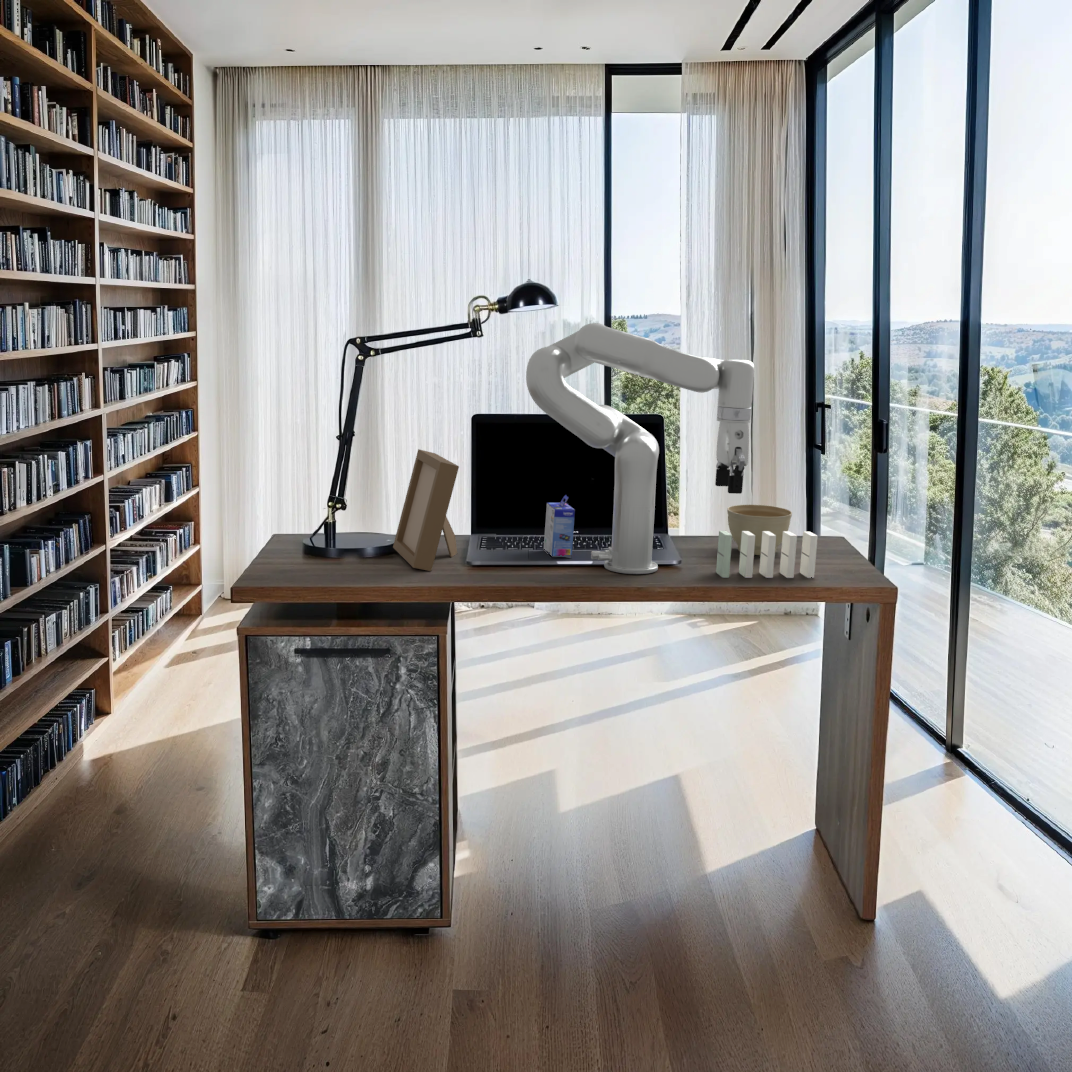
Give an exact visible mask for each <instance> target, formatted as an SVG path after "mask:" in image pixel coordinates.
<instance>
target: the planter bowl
mask: <svg viewBox="0 0 1072 1072" xmlns="http://www.w3.org/2000/svg"><path fill="white" fill-rule="evenodd" d="M792 516H793V512H792V511H791V510H789V509H787V508H783V507H779V506H775V505H765V504H737V505H732V506H731V505H730V506H728V507H727V525H728V528H729V533H730V534H731V535H732V539H733V541H734V542H735V544H736V545H737V551H738V552H740V549H741V536H742V531H749V532H751V533H752V534H754V535H755V546H754V556H755V555H756V556H761V543H762V531H770V532H771V533H773V534H774V535H776V544H775V553H776V552H777V550H778V549H777V548H778V547H779V546H780V545H782V537H783V531H789V528H790V524H791V518H792Z"/></svg>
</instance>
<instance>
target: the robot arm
mask: <svg viewBox="0 0 1072 1072" xmlns="http://www.w3.org/2000/svg"><path fill="white" fill-rule="evenodd" d="M593 364H598V365H601V366H605V367H609V368H611V369H612V368H613V369H616V370H620V371H623V372H626V373H628V374H632V375H636V376H640V377H642V378H646V379H650V380H654V381H658V382H661V383H665V384H667V385H671V386H673V387H674V386H675V387H678V388H681V389H685V390H687V391H691V392H694V393H700V394H701V393H707V392H710V391H711V390H718V396H717V398H718V399H717V412H716V421H717V422H719V425H718V432H717V440H716V441H717V442H716V469H715V481H714V482H715V483H714V484H715V485H714V486H716V487H727V493H728V494H739V495H740V494H742V493H743V486H744V485H743V484H744V475H745V472H744V470H745V469H746V466H748V464H749V451H750V449H749V448H750V447H749V444H750V443H749V442H750V432H749V431H750V429H749V428H750V427H749V423H751V415H752V404H753V403H752V402H753V393H754V392H753V389H754V378H755V377H754V376H755V365H754V363H753V362H752V361H751V360H747V359H734V358H733V359H718V358H713V357H707V356H697V355H696V356H695V355H692V354H689V353H685V352H681V351H678V350H675V349H672V348H669V347H667V346H664V345H662V344H660V343H659V342H657V341H655V340H653V339H651V338H647V337H644V336H641V335H637V334H633V333H629V332H626V331H623V330H620V329H616V328H612V327H608V326H607V325H604V324H603V323H598V322H591V323H587V324H585V325H583V326H581V327H580V328H579V330H577V331H576V332H574V333H571V334H569V335H568V336H565V337H564V338H562V339H560V340H558V341H556V342H553V343H552V344H550V345H548V346H544V347H541V348H538V349H537V350H535V351H534V352H533V353H532V355H531V356H530V358H529V359H528V362H527V366H526V370H525V380H526V381H525V382H526V387H527V390H528V393H529V395H530V397H531V399H532V401H533V402H534V403H535V405H536V406H537V407H538V408H539V409H540V410H541V411H543V413H545V414H546V415H547V416H549V417H550V418H552V419H553V420H555V421H556V422H557V423H559V424H560V425H561V426H563V428H565V429H566V430H568V431H569V432H571V433H572V434H574V435H575V436H577V438H579V439H580V440H582V441H583V442H584V443H585V444H586V445H588V446H590V447H592V448H595V449H603V450H604V451H606V452H607V453H608V454H610V455H612V456H613V457H614V487H613V489H614V490H613V512H612V513H613V514H612V535H611V546H608V549H604V551H599V550H598V551H597V550H592V551H591V552H590V554H591V555H590V558H591V559H590V560H598V561H604V563H603V566H604V568H605V569H606V570H608V571H609V572H610V571H611V572H615V573H619V574H628V575H645V574H652V573H654V572H657V571H658V568H659V566H658V563H656V562H655V561H653V560H652V559H653V558H652V557H653V546H654V545H653V541H654V524H655V510H656V508H655V506H656V489H657V488H656V487H657V485H656V484H657V471H658V470H657V469H658V460H659V454H660V446H659V443H658V441H657V439H656V438H655V436H654V435H653V434H652V433H650V432H649V431H647V430H646V429H645V428H643V427H642V426H640V425H639V424H638V423H636V422H635V421H633V420H632V419H630V418H629V417H628V416H626V415H625V414H623V413H622V412H620V411H619V410H617V409H616V408H614V407H613V406H610V405H607V404H597V403H596V402H594V401H592V400H591V399H590V398H588V397H587V396H584V395H583V394H582V393H581V392H580V391H579V390H577V389H576V388H574V387H572V386H570V384H568V383H567V381H565V378H567V377H569V376H572V375H573V374H575V373H577V372H579V371H581V370H583V369H585V368H587V367H589V366H591V365H593Z"/></svg>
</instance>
